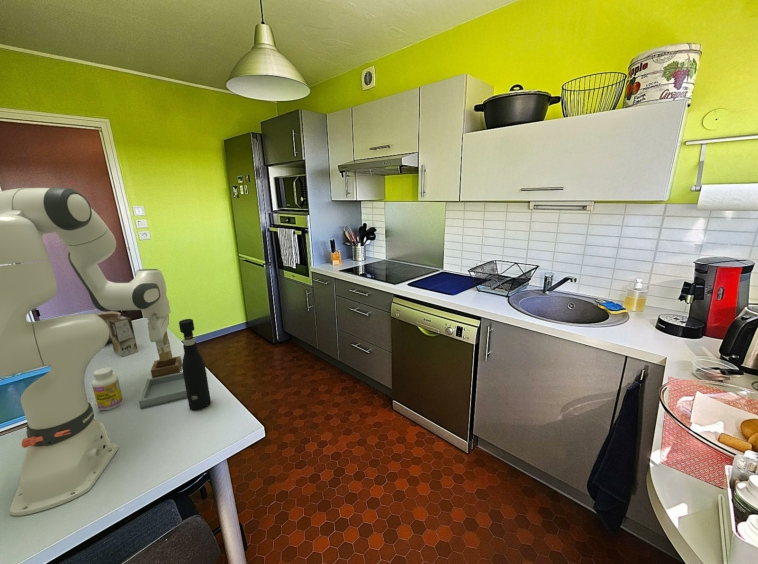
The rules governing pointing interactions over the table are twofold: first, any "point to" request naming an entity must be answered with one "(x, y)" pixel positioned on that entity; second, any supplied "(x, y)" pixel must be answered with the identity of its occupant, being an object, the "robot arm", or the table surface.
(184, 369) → the black water bottle
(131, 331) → the coffee box
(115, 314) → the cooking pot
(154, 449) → the table surface
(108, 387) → the supplement bottle
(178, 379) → the slate tray
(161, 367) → the walnut collar
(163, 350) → the sprinkles bottle
